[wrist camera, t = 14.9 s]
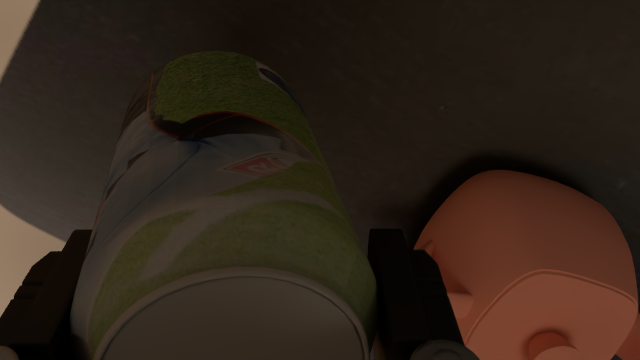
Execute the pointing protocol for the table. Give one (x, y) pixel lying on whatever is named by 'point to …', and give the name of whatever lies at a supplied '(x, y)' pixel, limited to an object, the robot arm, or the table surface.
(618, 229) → the teapot
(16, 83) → the table surface
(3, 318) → the robot arm
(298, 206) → the beverage can
